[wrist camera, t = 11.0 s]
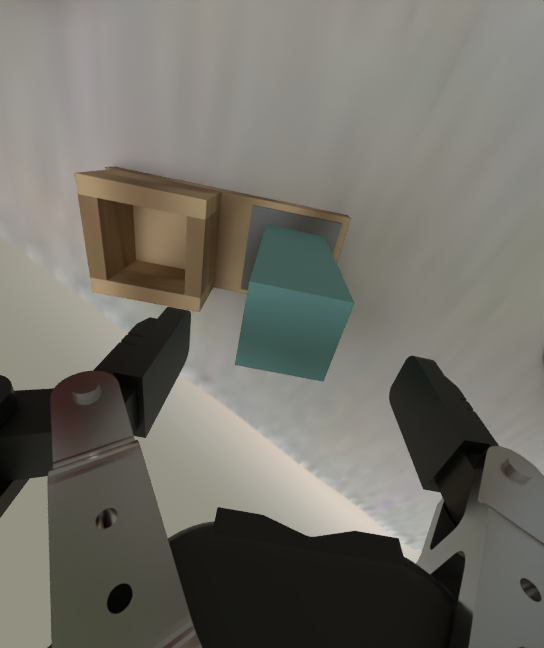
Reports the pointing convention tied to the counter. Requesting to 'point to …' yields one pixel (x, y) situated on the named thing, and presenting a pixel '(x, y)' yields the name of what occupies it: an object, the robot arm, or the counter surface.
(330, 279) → the teal block
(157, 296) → the holder
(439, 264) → the counter surface
